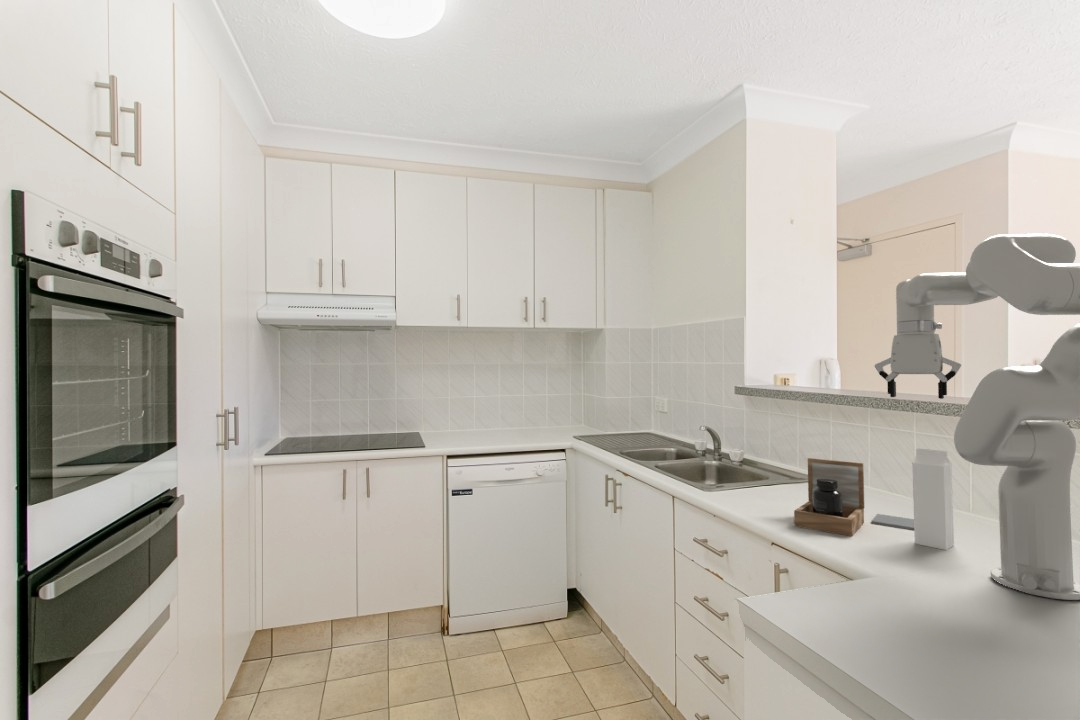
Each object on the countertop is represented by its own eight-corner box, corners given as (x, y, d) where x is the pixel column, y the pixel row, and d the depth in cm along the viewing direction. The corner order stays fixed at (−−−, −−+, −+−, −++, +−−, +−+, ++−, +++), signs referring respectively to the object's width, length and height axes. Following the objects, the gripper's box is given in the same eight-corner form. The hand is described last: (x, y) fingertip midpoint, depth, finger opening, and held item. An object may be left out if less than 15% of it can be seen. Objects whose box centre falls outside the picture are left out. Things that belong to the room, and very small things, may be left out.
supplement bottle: (848, 530, 127) (847, 482, 128) (821, 529, 127) (820, 482, 128) (833, 522, 134) (832, 477, 135) (808, 522, 134) (807, 477, 135)
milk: (946, 550, 112) (943, 452, 113) (914, 543, 117) (911, 449, 118) (954, 545, 116) (951, 449, 116) (922, 538, 120) (920, 447, 121)
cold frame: (852, 536, 122) (851, 470, 123) (793, 525, 131) (792, 464, 132) (864, 523, 134) (863, 463, 134) (809, 514, 143) (808, 457, 143)
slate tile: (917, 530, 127) (917, 528, 127) (871, 523, 134) (871, 520, 134) (921, 522, 134) (921, 520, 134) (877, 515, 141) (877, 513, 141)
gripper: (961, 328, 121) (963, 398, 121) (877, 332, 133) (878, 396, 133) (958, 326, 116) (960, 399, 115) (871, 330, 128) (872, 397, 127)
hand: (916, 397), depth 124 cm, fingers open, 9 cm apart
